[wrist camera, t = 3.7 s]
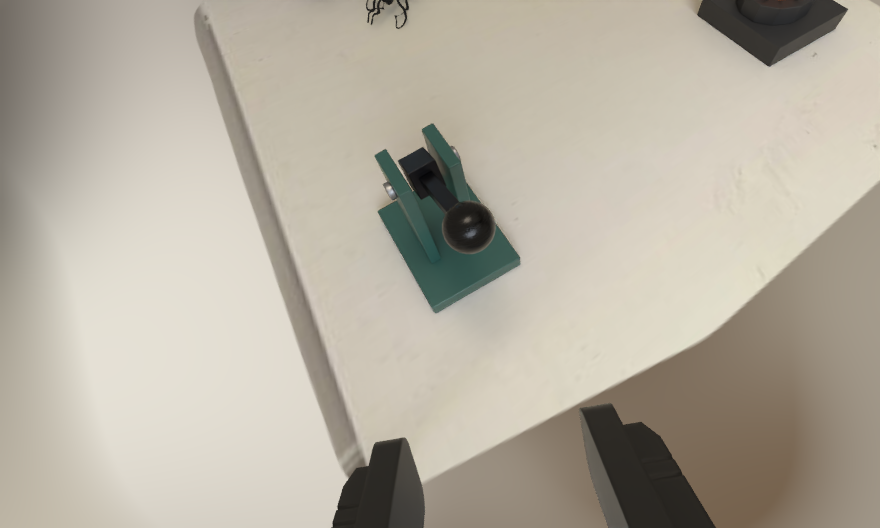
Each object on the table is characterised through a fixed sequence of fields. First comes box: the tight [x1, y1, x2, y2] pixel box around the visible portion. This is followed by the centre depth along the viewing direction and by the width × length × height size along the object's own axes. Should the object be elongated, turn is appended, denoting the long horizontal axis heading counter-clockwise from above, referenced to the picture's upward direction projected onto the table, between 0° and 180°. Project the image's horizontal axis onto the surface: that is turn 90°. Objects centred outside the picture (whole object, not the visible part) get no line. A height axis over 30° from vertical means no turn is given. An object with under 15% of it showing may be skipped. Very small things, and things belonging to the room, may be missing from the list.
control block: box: [698, 0, 848, 66], centre depth 46 cm, size 10×8×4 cm
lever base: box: [375, 124, 520, 313], centre depth 38 cm, size 12×9×13 cm
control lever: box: [398, 147, 496, 254], centre depth 31 cm, size 12×3×3 cm, turn 28°
